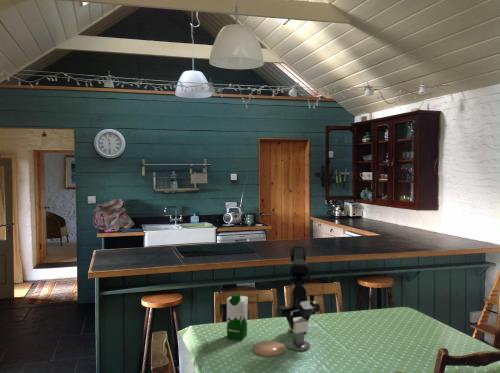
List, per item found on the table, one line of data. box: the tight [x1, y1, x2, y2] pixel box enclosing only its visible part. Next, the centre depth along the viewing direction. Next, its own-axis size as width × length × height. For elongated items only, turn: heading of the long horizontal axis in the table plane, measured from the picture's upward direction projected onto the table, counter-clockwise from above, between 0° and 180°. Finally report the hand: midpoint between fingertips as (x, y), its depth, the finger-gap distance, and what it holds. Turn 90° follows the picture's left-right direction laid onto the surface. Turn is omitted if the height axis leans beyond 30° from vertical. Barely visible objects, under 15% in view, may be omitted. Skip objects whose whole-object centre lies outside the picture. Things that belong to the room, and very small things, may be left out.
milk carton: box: [226, 293, 249, 342], centre depth 196 cm, size 9×9×20 cm
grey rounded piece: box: [285, 332, 311, 352], centre depth 186 cm, size 10×10×6 cm
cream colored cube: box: [288, 317, 309, 333], centre depth 186 cm, size 6×6×4 cm
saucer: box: [253, 340, 286, 358], centre depth 183 cm, size 13×13×1 cm
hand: (298, 328), depth 186 cm, fingers closed on cream colored cube, 6 cm apart
